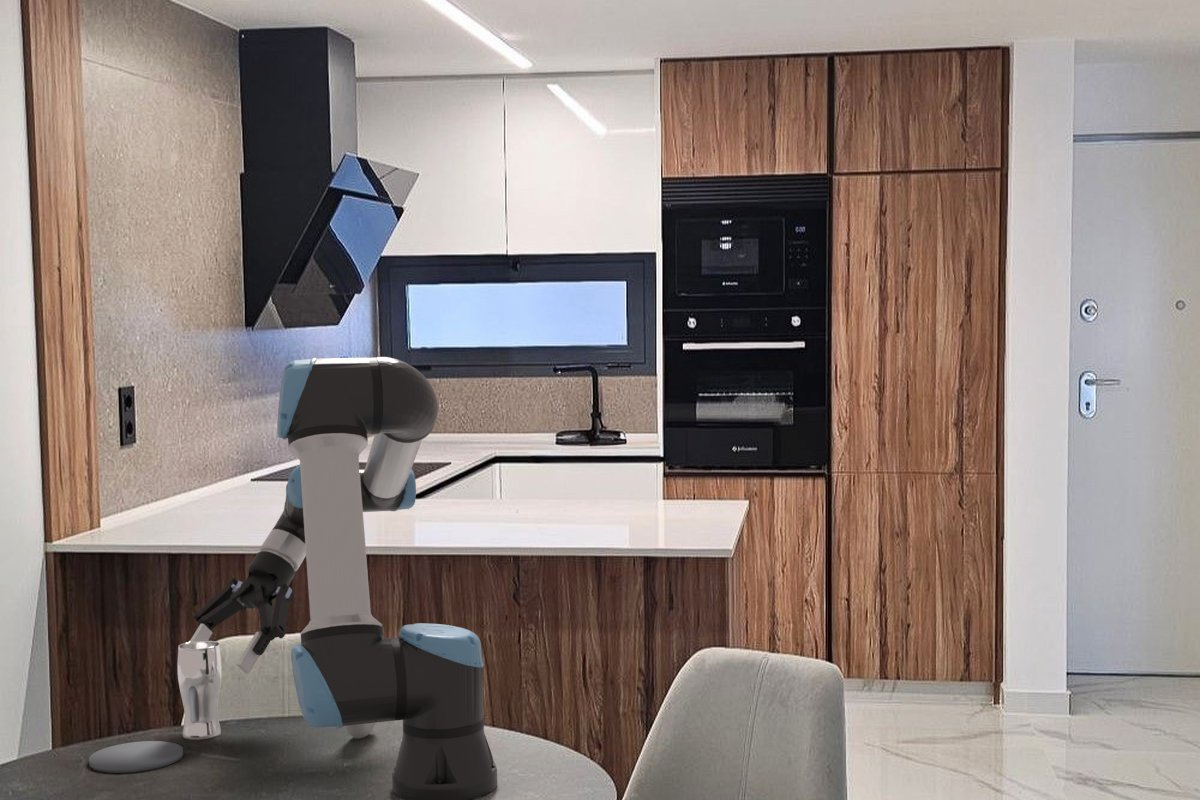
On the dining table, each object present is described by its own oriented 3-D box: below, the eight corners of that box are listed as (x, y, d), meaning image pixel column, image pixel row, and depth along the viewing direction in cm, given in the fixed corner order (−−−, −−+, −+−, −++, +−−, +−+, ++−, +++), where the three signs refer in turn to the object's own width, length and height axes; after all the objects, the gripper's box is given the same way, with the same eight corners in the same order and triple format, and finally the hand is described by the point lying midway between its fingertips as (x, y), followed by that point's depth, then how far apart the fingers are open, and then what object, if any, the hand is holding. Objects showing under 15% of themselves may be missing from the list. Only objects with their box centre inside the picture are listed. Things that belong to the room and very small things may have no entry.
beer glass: (212, 741, 237) (209, 649, 236) (172, 740, 238) (169, 649, 237) (230, 729, 244) (227, 640, 243) (191, 728, 245) (188, 639, 244)
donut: (360, 746, 232) (359, 684, 232) (340, 745, 233) (338, 683, 232) (382, 729, 242) (380, 669, 242) (363, 728, 243) (361, 669, 242)
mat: (200, 757, 228) (200, 752, 228) (117, 778, 218) (117, 773, 218) (154, 740, 238) (153, 736, 238) (72, 760, 228) (72, 755, 228)
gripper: (340, 580, 251) (279, 685, 240) (239, 569, 265) (177, 668, 253) (317, 554, 246) (254, 660, 235) (216, 544, 260) (151, 644, 249)
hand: (214, 664), depth 244 cm, fingers open, 13 cm apart
